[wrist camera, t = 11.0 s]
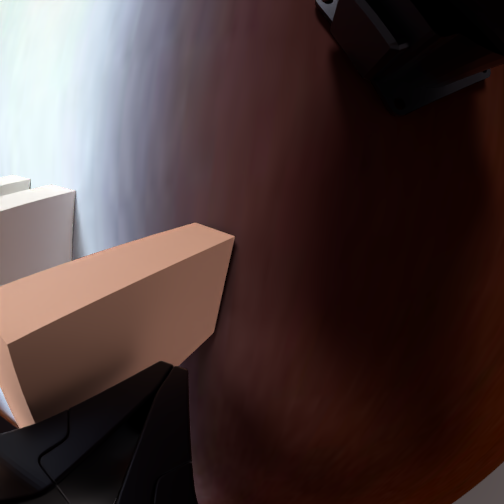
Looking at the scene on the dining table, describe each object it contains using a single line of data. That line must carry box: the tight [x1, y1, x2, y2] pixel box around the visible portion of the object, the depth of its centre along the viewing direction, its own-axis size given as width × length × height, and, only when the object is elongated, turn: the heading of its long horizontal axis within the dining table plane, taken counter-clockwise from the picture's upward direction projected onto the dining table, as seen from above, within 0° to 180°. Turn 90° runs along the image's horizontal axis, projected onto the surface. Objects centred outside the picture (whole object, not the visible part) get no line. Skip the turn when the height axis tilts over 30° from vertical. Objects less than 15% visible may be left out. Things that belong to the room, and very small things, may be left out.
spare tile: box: [0, 223, 235, 428], centre depth 9 cm, size 2×5×10 cm, turn 167°
